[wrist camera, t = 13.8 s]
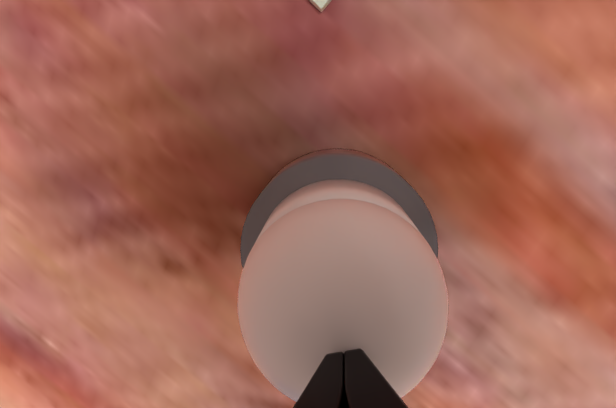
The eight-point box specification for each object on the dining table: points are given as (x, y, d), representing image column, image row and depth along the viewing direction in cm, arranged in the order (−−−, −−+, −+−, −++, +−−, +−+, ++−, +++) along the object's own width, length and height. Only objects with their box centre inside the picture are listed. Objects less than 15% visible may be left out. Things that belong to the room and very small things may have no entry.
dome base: (404, 130, 16) (421, 135, 13) (431, 289, 18) (450, 323, 15) (235, 169, 17) (216, 182, 14) (277, 316, 19) (268, 354, 16)
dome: (404, 162, 13) (468, 208, 7) (430, 312, 15) (501, 456, 9) (240, 198, 14) (172, 269, 8) (280, 338, 16) (250, 489, 10)
